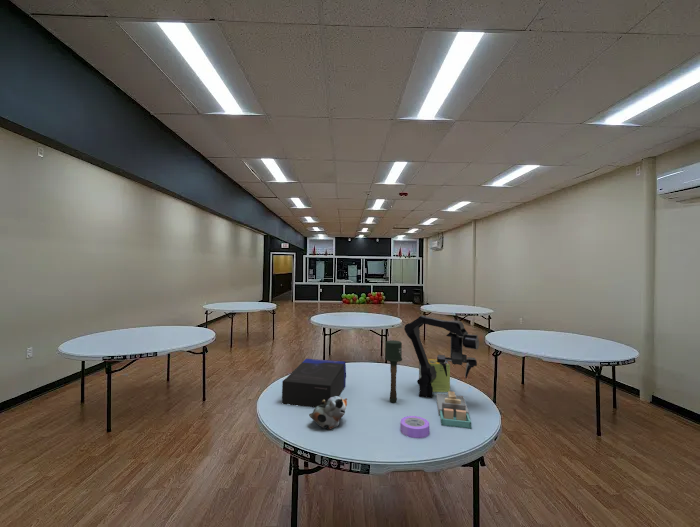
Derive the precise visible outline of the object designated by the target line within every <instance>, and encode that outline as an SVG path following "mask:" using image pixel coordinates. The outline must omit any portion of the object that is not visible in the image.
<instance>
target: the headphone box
mask: <svg viewBox="0 0 700 527" xmlns="http://www.w3.org/2000/svg"><path fill="white" fill-rule="evenodd" d="M346 367H347V366H346V361H342V360H341V361H339V360H326V359H316V358H315V359H313V358H305V359H304V360H303V361H302V362H301V363H300V364H299V365H298V366H297V367H296V368H295V369H294V370H293V371H292V372H291V373H290V374H288V375H287V377H286V378H285V379H282V382H281V383H282V384H281V404H282V403H283V404H282V405H287V404H290V405H289V406H296V405H298V406H297V407H306V408H314V409H315V408H316V407H317V406H319V405H321V404H322V400H325V401H326V402H327V401H328V399H329V398H331V397H334V396H338V397H341V396H340V395H341V394H342V393H343V391H344V390H345V388H346V384H347V383H346V379H347V368H346Z"/></svg>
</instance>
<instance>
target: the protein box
mask: <svg viewBox="0 0 700 527" xmlns="http://www.w3.org/2000/svg"><path fill="white" fill-rule="evenodd" d="M427 359H428V362H429V364H430V365H431V366H434V367H435V370H436V372H437V373H436V375H437V376H436V379H435V380H433V382H432V383H431V385H432V387H433V393H448V391H451V363H450V362H449V361H446V369H447V377H446V374H445V371H444V368H443V366H442V364H440V363H438V362H437V358H427ZM420 371H421V366H420V363H419V362H418V379H420V378H421V373H420Z"/></svg>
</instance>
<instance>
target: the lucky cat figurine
mask: <svg viewBox="0 0 700 527" xmlns="http://www.w3.org/2000/svg"><path fill="white" fill-rule="evenodd" d="M347 406H348V398H344V399H343V397H341V396H339V397H338V396H334V397H331V398H329V399H328V401H327V402H326V401H325V400H322V404H321V405H319V406H317V407H316V408H314V409H313V410H312V412H311V413H309V418H311V419H312V421H314V422H315V423H316V424H317V425H318V426H320V427H321V428H323V429H325V428H326V429H327V430H329V431H330V430H331V429H334V428H336V427H338V426H339V424H340V420H341V418H343V416H345V414H346V409H347Z"/></svg>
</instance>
